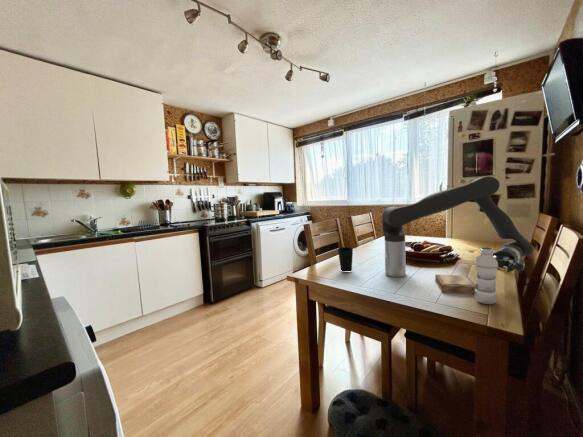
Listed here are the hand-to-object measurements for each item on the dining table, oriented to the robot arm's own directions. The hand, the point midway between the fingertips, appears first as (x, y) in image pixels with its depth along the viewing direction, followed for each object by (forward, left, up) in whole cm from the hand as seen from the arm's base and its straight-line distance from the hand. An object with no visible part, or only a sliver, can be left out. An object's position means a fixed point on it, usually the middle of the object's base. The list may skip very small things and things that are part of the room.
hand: (493, 266), depth 95 cm
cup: (-57, +21, -11) cm, 62 cm away
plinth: (-11, +6, -11) cm, 17 cm away
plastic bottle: (-5, -7, -11) cm, 14 cm away
